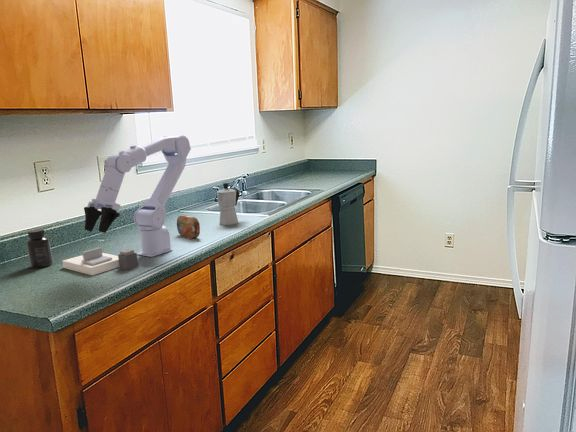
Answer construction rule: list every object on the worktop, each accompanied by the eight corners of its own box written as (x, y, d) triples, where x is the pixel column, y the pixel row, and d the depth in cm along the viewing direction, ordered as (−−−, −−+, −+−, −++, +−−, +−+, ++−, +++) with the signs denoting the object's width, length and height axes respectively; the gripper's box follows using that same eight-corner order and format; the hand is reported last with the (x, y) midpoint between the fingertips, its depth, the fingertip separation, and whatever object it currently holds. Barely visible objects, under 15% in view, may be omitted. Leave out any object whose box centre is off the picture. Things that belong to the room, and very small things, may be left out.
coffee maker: (227, 227, 198) (224, 185, 194) (211, 225, 202) (208, 184, 199) (248, 220, 210) (245, 180, 206) (233, 218, 215) (229, 180, 211)
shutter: (100, 256, 152) (99, 246, 151) (112, 259, 148) (110, 249, 147) (81, 262, 147) (80, 251, 146) (93, 265, 143) (91, 254, 142)
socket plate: (96, 258, 160) (95, 249, 160) (126, 264, 150) (125, 255, 150) (63, 267, 151) (61, 258, 150) (92, 275, 141) (91, 265, 140)
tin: (177, 234, 189) (174, 214, 188) (184, 233, 191) (181, 213, 189) (195, 240, 178) (193, 218, 176) (202, 238, 180) (200, 217, 178)
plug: (130, 265, 150) (128, 248, 149) (138, 266, 147) (136, 249, 146) (119, 268, 147) (117, 251, 146) (127, 270, 144) (125, 253, 143)
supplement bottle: (57, 261, 159) (51, 227, 156) (47, 267, 152) (41, 232, 150) (36, 263, 158) (30, 229, 156) (26, 269, 152) (20, 233, 149)
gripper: (85, 185, 147) (70, 225, 144) (111, 185, 139) (96, 228, 135) (104, 193, 153) (90, 232, 149) (130, 194, 144) (117, 235, 141)
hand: (94, 231), depth 143 cm, fingers open, 7 cm apart
